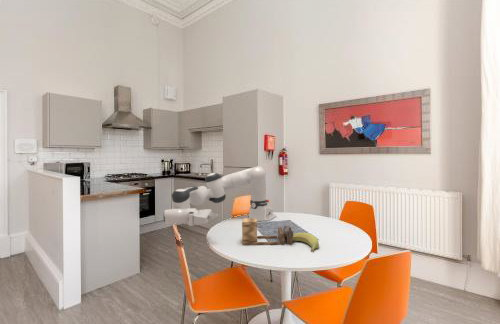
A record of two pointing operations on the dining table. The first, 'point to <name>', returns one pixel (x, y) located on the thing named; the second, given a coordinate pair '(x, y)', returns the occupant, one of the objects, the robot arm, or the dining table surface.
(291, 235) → the wooden rack
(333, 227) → the dining table surface
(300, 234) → the banana
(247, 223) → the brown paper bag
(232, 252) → the dining table surface
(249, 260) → the dining table surface
